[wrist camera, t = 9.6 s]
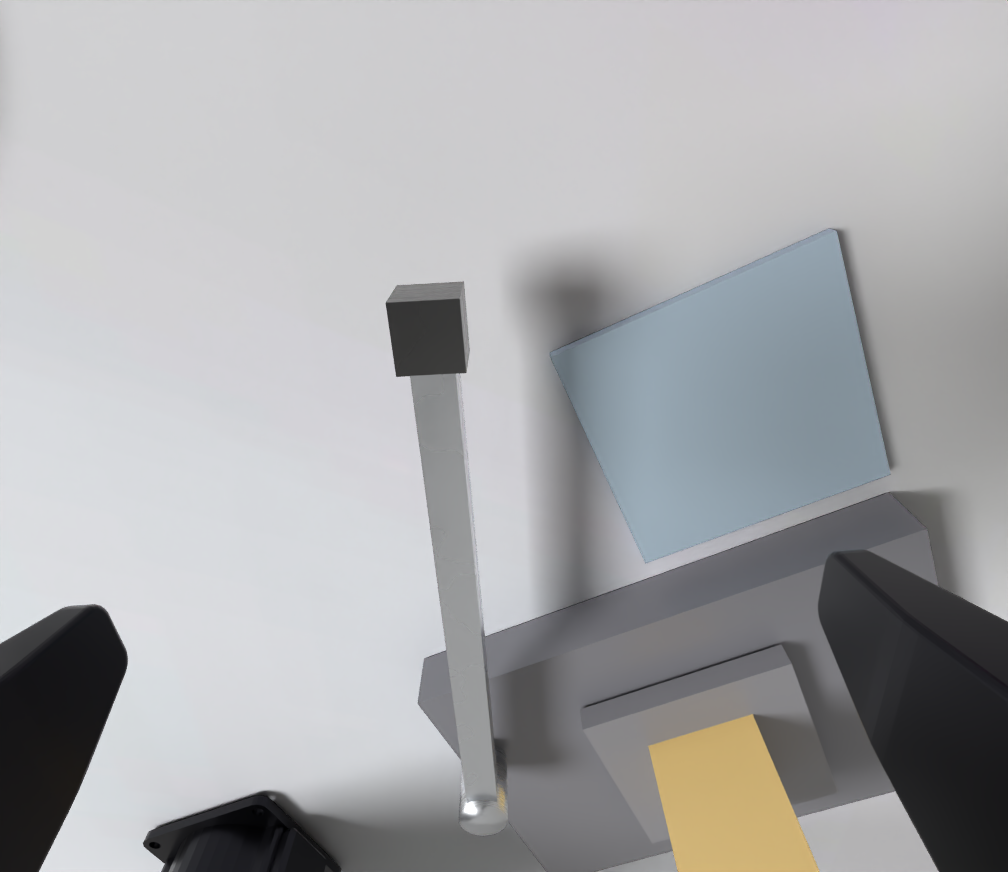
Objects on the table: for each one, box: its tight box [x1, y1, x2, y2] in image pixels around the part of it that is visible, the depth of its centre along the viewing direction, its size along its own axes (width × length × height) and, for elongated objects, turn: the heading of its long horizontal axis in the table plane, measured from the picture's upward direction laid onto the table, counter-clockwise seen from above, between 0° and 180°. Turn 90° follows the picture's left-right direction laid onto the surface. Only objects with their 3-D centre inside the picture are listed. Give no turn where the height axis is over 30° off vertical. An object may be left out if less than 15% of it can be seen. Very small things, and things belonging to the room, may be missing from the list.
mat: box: [550, 228, 890, 563], centre depth 18 cm, size 8×8×1 cm
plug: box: [580, 645, 838, 872], centre depth 20 cm, size 7×7×8 cm
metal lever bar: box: [386, 282, 508, 836], centre depth 18 cm, size 18×2×2 cm, turn 3°
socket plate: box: [418, 493, 939, 872], centre depth 23 cm, size 17×12×2 cm
